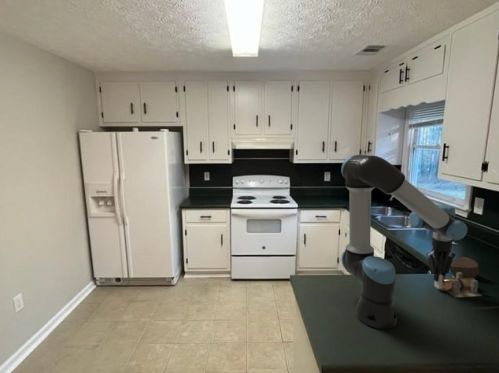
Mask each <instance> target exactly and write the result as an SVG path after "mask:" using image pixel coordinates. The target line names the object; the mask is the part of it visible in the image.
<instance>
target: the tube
mask: <svg viewBox="0 0 499 373" xmlns="http://www.w3.org/2000/svg"><path fill="white" fill-rule="evenodd" d="M471 280H476V279H475V278H455V279H450V278H446V279H443V281H442V289H440V290H441V291H443V292H444V291H445V292H447V291H448V290H453V281H458V282H460V289H459V290H462V289H470V287H471Z"/></svg>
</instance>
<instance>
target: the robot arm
mask: <svg viewBox="0 0 499 373" xmlns="http://www.w3.org/2000/svg"><path fill="white" fill-rule="evenodd" d="M340 171H341V172H340V173H341V175H342V177H343V178H344V179H345V188H346V189H347V190H348V191H349V210H348V211H349V213H348V214H349V217H348V218H349V222H348V223H349V225H348V226H349V228H348V229H349V230H348V231H349V232H348V233H349V241H348V242H349V243H348V244H347V245H346V246H345V249H344V251H343V252H342V255H341V263H342V264H341V265H342V266H343V268H344V269H345V271H346V272H347V273H348V274H349V275H351V276H352V277H353V278H354V279H356V281H358V282H359V283H360V284H361V287H360V290H361V292H360V294H361V295H360V297H359V300H358V302H357V304H356V306H355V316H356V318H357V319H358V320H359V321H360V322H362V323H363V324H365V326H368V325H369V327H371V328H375V329H379V330H389V329H392V328H394V327H396V325H397V323H398V316H397V315H398V314H397V311H396V308H395V306H394V295H395V284H396V278H397V277H396V268H395V266H394V264H393V263H391V262H390V260H388V259H385V258H382V257H380V256H376V255H375V248H374V247H373V246H372V244H371V233H372V232H371V228H372V226H371V224H372V223H371V222H372V220H371V218H372V191H373V190H374V189H375V188H376V189H379V190H380V191H382V192H383V193H384V194H386V195H390V196H392V197H394V198H395V199H396V200H398V201H399V202H400V203H401V204H403V206H405V207H406V208H407V209H408V210H410V211H411V213H410V214H409V216H408V222H409V224H410V226H411V228H414V229H419V230H420V229H425V230H428V231H431V232H432V239H431V240H432V242H431V246H432V248H431V252H427V253H426V257H427V259H428V265H429V266H428V267H429V272H430V273H431V274H433V280H434V283H433V286H434V287H435V288H436V289H439V290H441V289H442V281H443V279H444V276H446V277H447V274H449V273H450V267H451V264H452V261H453V260H454V258H455V256H456V255H457V254H456V253H454V252H452V250H451V249H452V248H453V241H452V240H455V241H458V240H462V239H464V237H465V236H466V235H467V233H468V226H467V224H466V223H465V222H463V221H461V220H458V219H456V207H454V206H452V205H448V204H436V203H435V202H433V201H432V200H431V199H430V198H428V196H426V195H425V194H424V193H423V192H422V191H420V190H419V189H418V188H417V187H415V186H414V185H413V184H412V183H411V182H409V180H408V179H406V175H405V173H403V172H402V171H400V170H399V169H398V168H397V167H396V166H394V165H393V164H392V163H390V162H389V161H388V160H386V159H384V158H383V157H380V156H378V155H367V154H355V155H349V157H347V158H346V159H345V160H344V162H343V163H342V165H341V170H340Z"/></svg>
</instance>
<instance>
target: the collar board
mask: <svg viewBox="0 0 499 373" xmlns="http://www.w3.org/2000/svg"><path fill="white" fill-rule="evenodd" d="M446 277H447V275H446V276H444V279H447V278H446ZM455 277H456V278H463V273H461V272H457V273H456V276H455ZM478 287H479V281H478V280H476V279H475V280H471V287H470V289H462V290H459V289H460V282H458V281H453V290H448V291H446V292H447V293H448V294H450V295H451V296H453V297H454V298H467V297H481V296H483V295H482V294H480V293H479V292H478Z"/></svg>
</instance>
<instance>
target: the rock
mask: <svg viewBox="0 0 499 373" xmlns="http://www.w3.org/2000/svg"><path fill="white" fill-rule="evenodd" d="M449 272H451V274H452V276H454V277H456V273H457V272H461V273H463V278H474V279H475V278H476V277H477V276H478V274H480V266H479V264H478V262H476V260H474V259H472V258H469V257H466V256H460V257H457V258H455V259H453V261H452V264H451V267H450V270H449Z"/></svg>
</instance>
